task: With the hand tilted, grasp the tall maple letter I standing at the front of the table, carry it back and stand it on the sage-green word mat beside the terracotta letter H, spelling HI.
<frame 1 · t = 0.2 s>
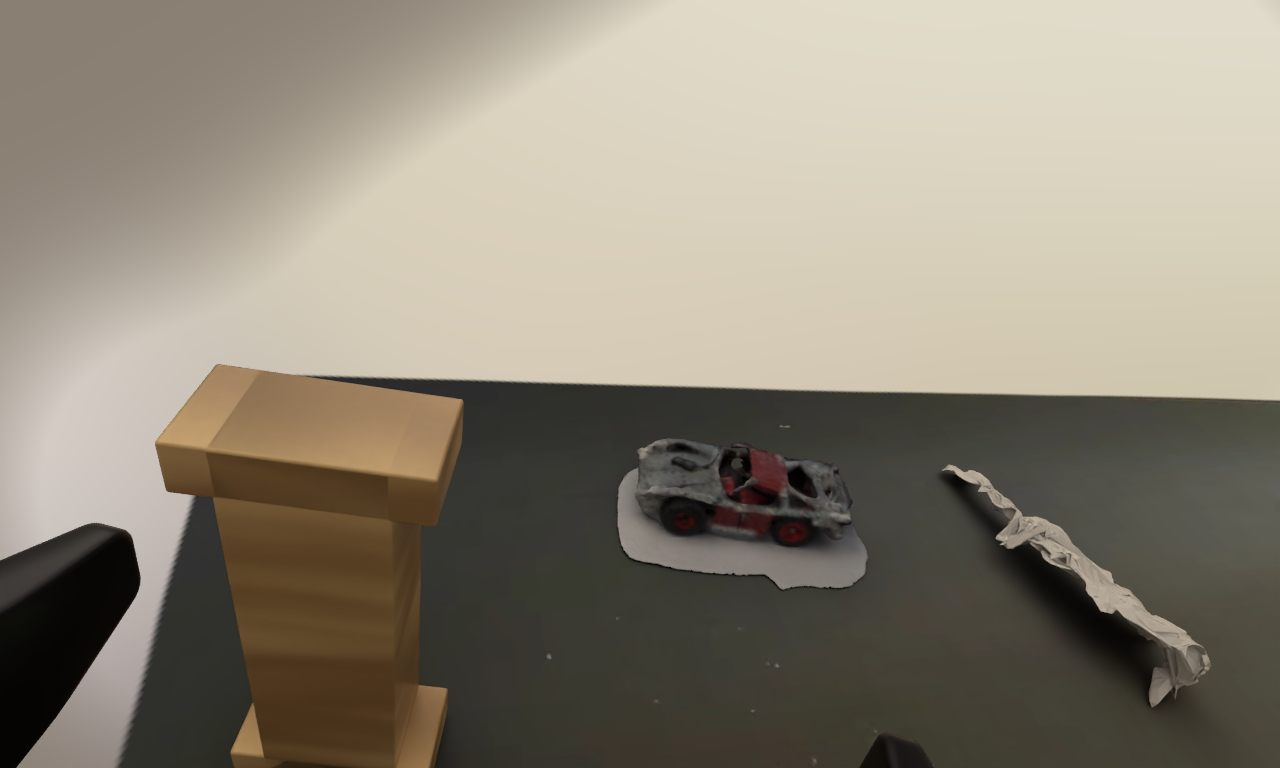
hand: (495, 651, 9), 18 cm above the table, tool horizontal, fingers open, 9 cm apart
letter I: (347, 743, 26), on the table
paper: (1039, 576, 39), on the table
toy car: (736, 526, 38), on the table
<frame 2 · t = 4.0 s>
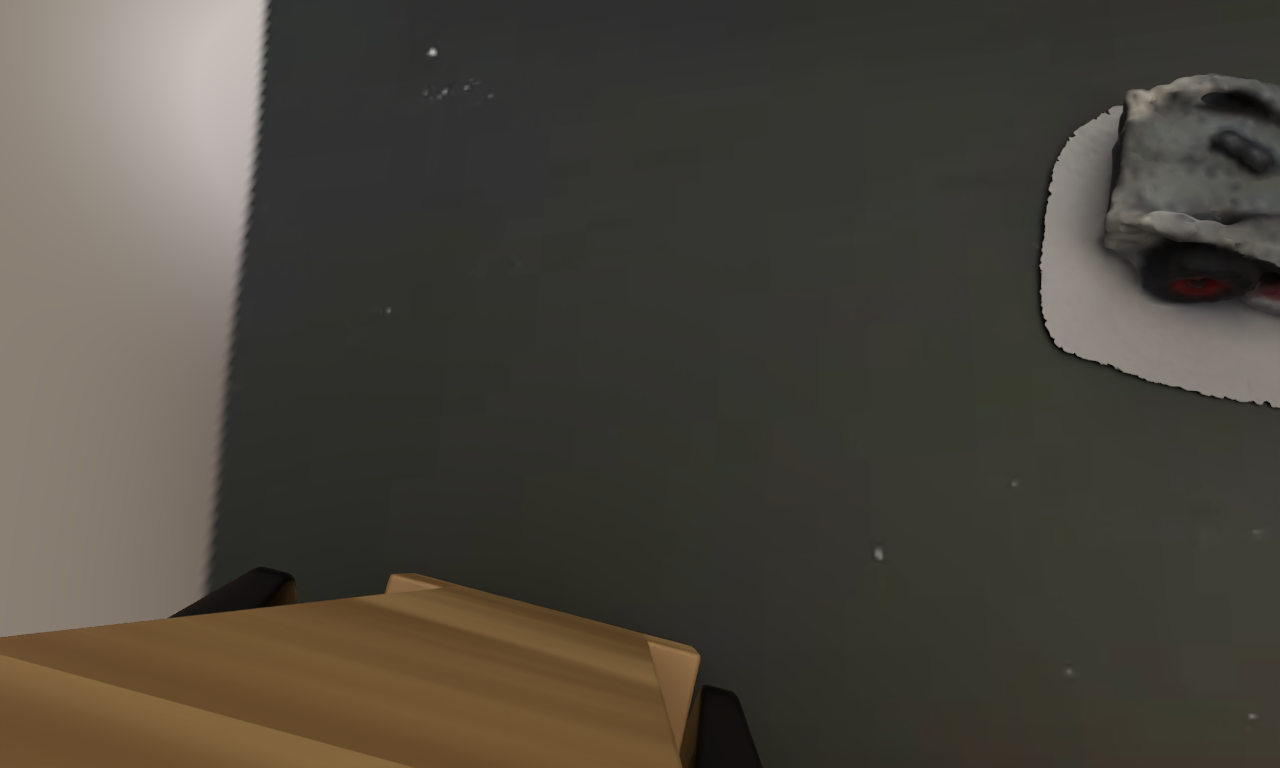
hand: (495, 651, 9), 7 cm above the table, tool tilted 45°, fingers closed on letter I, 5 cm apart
letter I: (531, 684, 16), on the table, touching gripper
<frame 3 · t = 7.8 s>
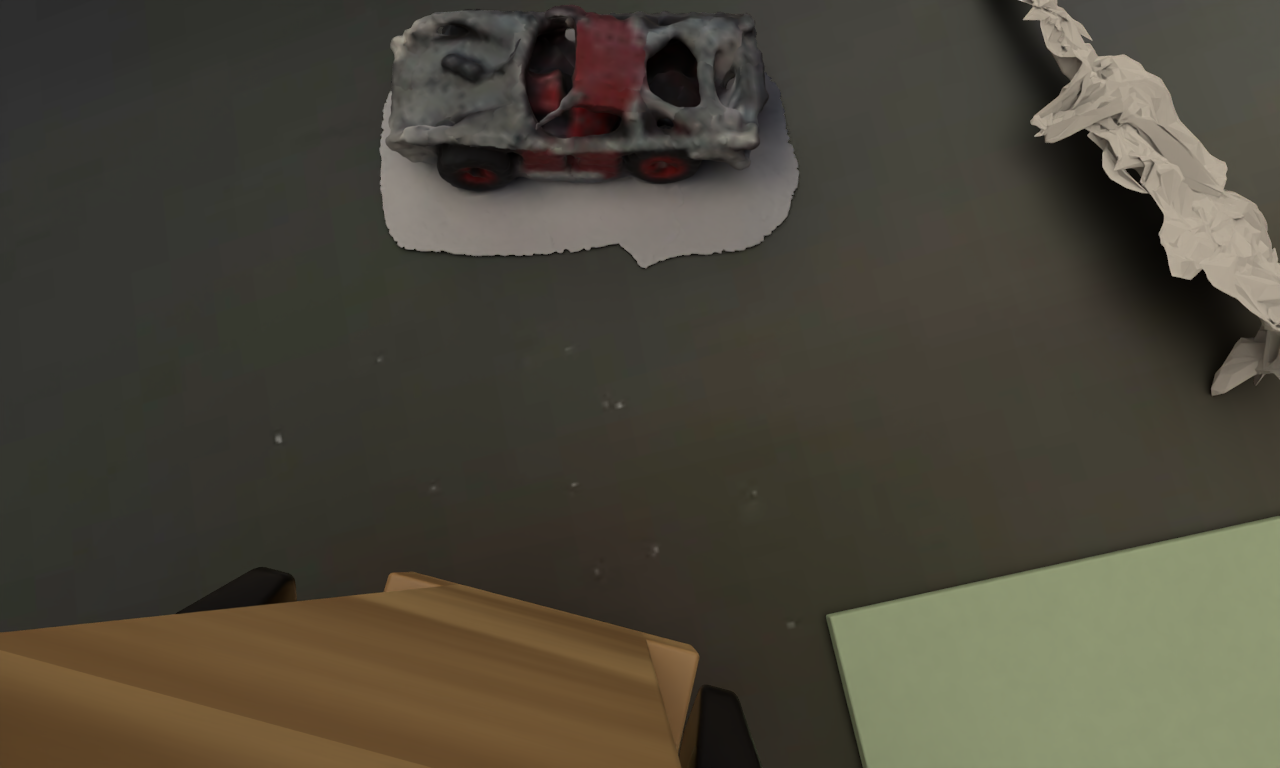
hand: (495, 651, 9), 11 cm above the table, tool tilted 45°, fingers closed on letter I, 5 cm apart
letter I: (530, 683, 16), point 4 cm above the table, touching gripper
paper: (1098, 168, 23), on the table
toy car: (584, 150, 23), on the table
when the fingers open (8 cm above the table, at t = 11.7 s): letter I stays where it is, resting on word mat.
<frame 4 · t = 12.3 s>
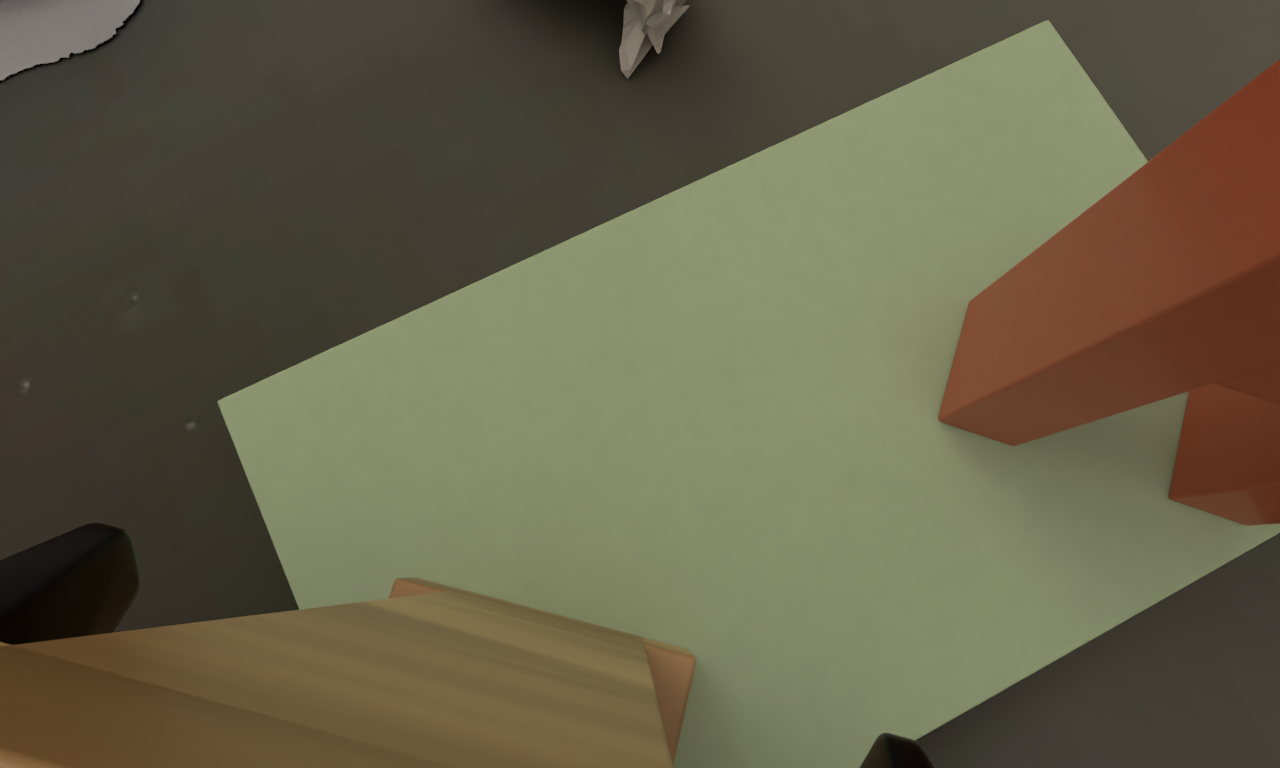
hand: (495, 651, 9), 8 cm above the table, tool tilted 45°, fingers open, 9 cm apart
letter H: (1103, 410, 18), resting on word mat
letter I: (532, 686, 16), point 1 cm above the table, touching word mat
word mat: (789, 443, 18), on the table
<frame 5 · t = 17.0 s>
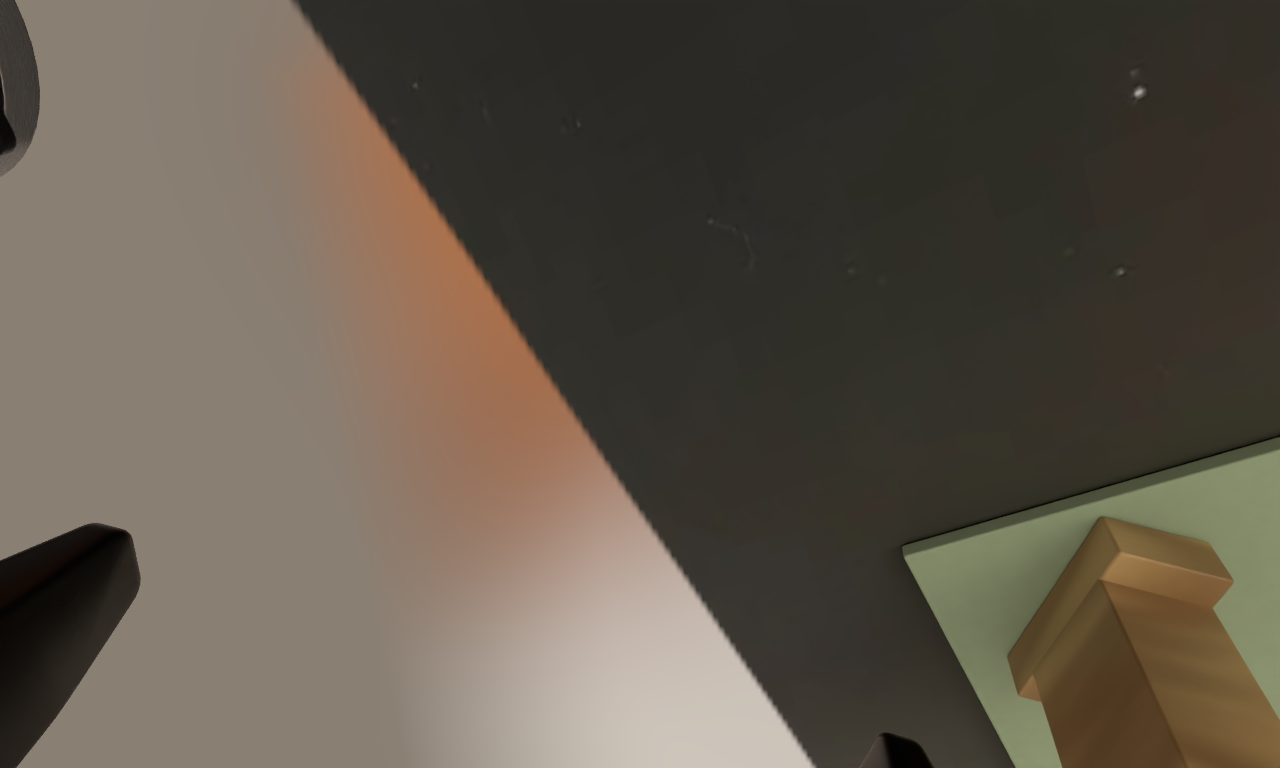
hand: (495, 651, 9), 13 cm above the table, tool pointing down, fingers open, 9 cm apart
letter I: (1100, 603, 23), resting on word mat
word mat: (1227, 730, 25), on the table
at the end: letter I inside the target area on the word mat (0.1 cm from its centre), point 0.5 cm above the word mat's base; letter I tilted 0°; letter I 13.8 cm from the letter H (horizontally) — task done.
